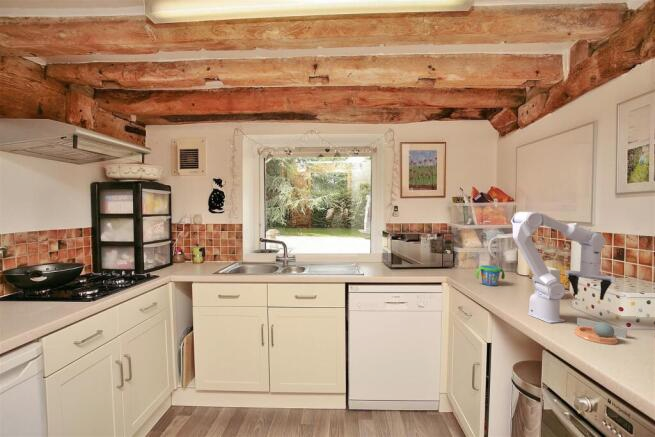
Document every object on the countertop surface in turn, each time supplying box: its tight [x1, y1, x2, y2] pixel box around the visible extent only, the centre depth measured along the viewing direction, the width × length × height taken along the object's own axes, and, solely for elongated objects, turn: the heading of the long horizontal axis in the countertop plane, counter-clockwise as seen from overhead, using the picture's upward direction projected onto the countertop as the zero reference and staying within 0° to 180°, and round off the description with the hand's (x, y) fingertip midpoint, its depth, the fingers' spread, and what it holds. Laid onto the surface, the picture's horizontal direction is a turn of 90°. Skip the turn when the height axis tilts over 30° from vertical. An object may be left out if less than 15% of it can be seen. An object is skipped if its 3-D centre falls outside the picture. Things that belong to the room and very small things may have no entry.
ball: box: [594, 321, 614, 338], centre depth 98 cm, size 5×5×5 cm
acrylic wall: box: [576, 317, 628, 339], centre depth 105 cm, size 13×1×3 cm, turn 37°
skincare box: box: [534, 265, 562, 293], centre depth 144 cm, size 8×6×15 cm
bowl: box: [573, 326, 619, 345], centre depth 100 cm, size 11×11×2 cm
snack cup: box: [475, 264, 506, 287], centre depth 167 cm, size 16×10×10 cm
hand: (588, 296), depth 114 cm, fingers open, 7 cm apart
